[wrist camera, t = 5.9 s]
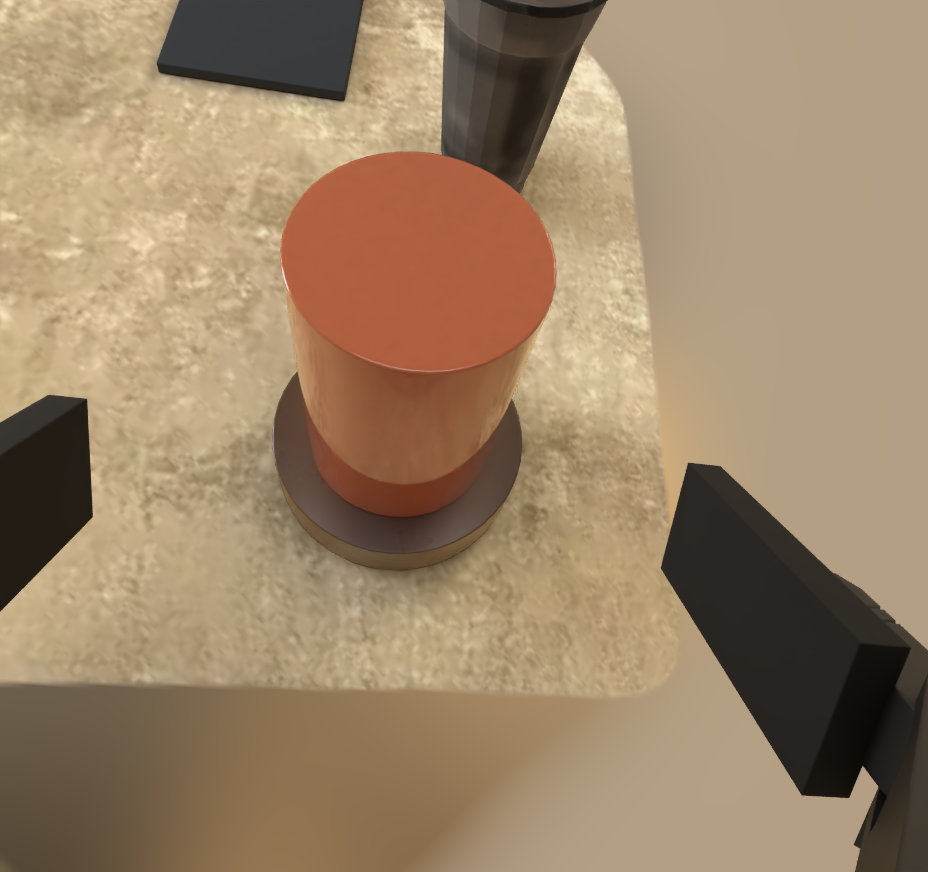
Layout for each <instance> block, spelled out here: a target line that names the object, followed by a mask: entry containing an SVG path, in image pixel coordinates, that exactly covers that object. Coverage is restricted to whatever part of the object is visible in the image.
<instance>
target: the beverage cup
mask: <svg viewBox="0 0 928 872" xmlns="http://www.w3.org/2000/svg"><path fill="white" fill-rule="evenodd" d="M606 1H607V0H444V4H445V23H444V61H443V98H442V135H441V151H442V155H443V156H448V157H452V158H455V159H459V160H462V161H465V162H468V163H470V164H472V165H475V166H477V167H480V168H482V169H484V170H486V171H487V172H489V173H491V174H493V175H495V176H496V177H498V178H499V179H501V180H502V181H504V182H505V183H507V184H508V185H509V186H511V187H512V188H513V189H514V190H515V191H517V192H518V193H519V194H520V192H521V190H522V189H523V186H524V182H525V180H526V179H527V176H528V174H529V173H530V171H531V169H532V168H533V165H534V163H535V160H536V158H537V156H538V153H539V151H540V148H541V146H542V143H543V141H544V138H545V136H546V133H547V131H548V129H549V126H550V124H551V121H552V119H553V116H554V114H555V111H556V109H557V106H558V104H559V102H560V99H561V97H562V94H563V92H564V89H565V87H566V84H567V82H568V79H569V77H570V75H571V72H572V70H573V67H574V65H575V62H576V60H577V57H578V55H579V52H580V50H581V48H582V45H583V43H584V41H585V39H586V38H587V36H588V34H589V33H590V31H591V30H592V28H593V26H594V24H595V22H596V20H597V19H598V17H599V14H600V13H601V11H602V9H603V7H604V5H605V4H606Z"/></svg>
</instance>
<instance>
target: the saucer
mask: <svg viewBox="0 0 928 872" xmlns="http://www.w3.org/2000/svg"><path fill="white" fill-rule="evenodd" d="M272 441H273V453H274V459H275V465H276V468H277V472H278V475H279V479H280V482H281V486H282V489H283V492H284V495H285V498H286V500H287V502H288V504H289V506H290V508H291V510H292V512H293V514H294V515H295V517H296V518H297V520H298V521H299V523H300V524H301V525H302V527H303V528H304V529H305V530H306V531H307V532H308V533H309V534H310V535H311V536H312V537H313V538H314V539H315V540H316V541H318V542H319V543H320V544H321V545H322V546H324V547H325V548H327V549H328V550H330V551H331V552H333V553H335V554H336V555H338V556H340V557H342V558H345V559H347V560H349V561H351V562H354V563H357V564H361V565H364V566H368V567H373V568H379V569H387V570H405V569H415V568H421V567H425V566H429V565H433V564H436V563H438V562H441V561H444V560H446V559H449V558H451V557H452V556H454V555H456V554H458V553H460V552H462V551H463V550H464V549H466V548H467V547H468V546H470V545H471V544H473V543H474V542H475V541H476V540H477V539H478V538H479V537H480V536H481V535H482V534H483V533H484V532H485V531H486V530H487V529H488V527H489V526H490V525H491V523H492V522H493V521H494V519H495V518H496V516H497V514H498V512H499V511H500V509H501V507H502V505H503V504H504V502H505V500H506V498H507V496H508V495H509V493H510V491H511V489H512V487H513V484H514V482H515V479H516V477H517V474H518V470H519V466H520V462H521V453H522V432H521V426H520V421H519V417H518V414H517V411H516V408H515V405H514V402H513V400H512V398H511V401H510V403H509V406H508V408H507V410H506V413H505V415H504V417H503V420H502V422H501V425H500V427H499V429H498V432H497V434H496V437H495V439H494V441H493V444H492V446H491V449H490V451H489V453H488V456H487V458H486V461H485V463H484V465H483V468H482V470H481V472H480V474H479V475H478V477H477V479H476V480H475V482H474V483H473V484H472V485H471V486H470V488H469V489H468V490H467V491H466V492H465V493H464V494H463V495H461V496H460V497H459V498H458V499H456V500H455V501H453V502H452V503H451V504H449V505H447V506H445V507H443V508H441V509H439V510H436V511H433V512H431V513H428V514H423V515H418V516H411V517H390V516H384V515H378V514H375V513H371V512H368V511H365V510H363V509H361V508H358V507H356V506H354V505H353V504H351V503H349V502H348V501H346V500H345V499H343V498H342V497H341V496H339V495H338V494H337V493H336V492H335V491H334V490H333V489H332V488H331V487H330V486H329V485H328V484H327V483H326V481H325V480H324V479H323V477H322V476H321V474H320V473H319V471H318V469H317V467H316V465H315V463H314V460H313V457H312V454H311V450H310V445H309V439H308V433H307V426H306V420H305V414H304V408H303V402H302V395H301V389H300V383H299V377H298V371H297V372H296V374H295V375H294V376H293V377H292V379H291V380H290V382H289V383H288V385H287V387H286V388H285V390H284V392H283V394H282V397H281V399H280V401H279V403H278V406H277V410H276V414H275V417H274V424H273V432H272Z"/></svg>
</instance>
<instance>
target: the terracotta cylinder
mask: <svg viewBox="0 0 928 872" xmlns="http://www.w3.org/2000/svg"><path fill="white" fill-rule="evenodd" d="M280 261H281V271H282V277H283V283H284V289H285V296H286V302H287V308H288V314H289V321H290V327H291V333H292V339H293V345H294V352H295V358H296V364H297V370H298V377H299V383H300V389H301V395H302V402H303V408H304V414H305V420H306V426H307V433H308V439H309V445H310V450H311V454H312V457H313V460H314V463H315V465H316V467H317V469H318V471H319V473H320V474H321V476H322V477H323V479H324V480H325V481H326V483H327V484H328V485H329V486H330V487H331V488H332V489H333V490H334V491H335V492H336V493H337V494H338V495H339V496H341V497H342V498H343V499H345V500H346V501H348V502H349V503H351V504H353V505H354V506H356V507H358V508H361V509H363V510H365V511H368V512H371V513H375V514H378V515H384V516H390V517H411V516H418V515H423V514H428V513H431V512H433V511H436V510H439V509H441V508H443V507H445V506H447V505H449V504H451V503H452V502H453V501H455V500H456V499H458V498H459V497H460V496H461V495H463V494H464V493H465V492H466V491H467V490H468V489H469V488H470V486H471V485H472V484H473V483H474V482H475V480H476V479H477V477H478V475H479V474H480V472H481V470H482V468H483V465H484V463H485V461H486V458H487V456H488V453H489V451H490V449H491V446H492V444H493V441H494V439H495V437H496V434H497V432H498V429H499V427H500V425H501V422H502V420H503V417H504V415H505V413H506V410H507V408H508V406H509V403H510V401H511V398H512V396H513V394H514V391H515V389H516V386H517V384H518V382H519V379H520V377H521V374H522V372H523V370H524V367H525V365H526V362H527V360H528V358H529V355H530V353H531V350H532V348H533V346H534V343H535V341H536V338H537V336H538V334H539V331H540V329H541V326H542V324H543V322H544V319H545V317H546V314H547V312H548V310H549V307H550V305H551V302H552V299H553V295H554V291H555V287H556V275H557V271H556V259H555V254H554V250H553V246H552V242H551V240H550V237H549V235H548V232H547V230H546V228H545V226H544V225H543V223H542V221H541V219H540V217H539V216H538V215H537V213H536V212H535V211H534V209H533V208H532V207H531V205H530V204H529V203H528V202H527V201H526V200H525V199H524V198H523V197H522V196H521V195H520V194H519V193H518V192H517V191H515V190H514V189H513V188H512V187H511V186H509V185H508V184H507V183H505V182H504V181H502V180H501V179H499V178H498V177H496V176H495V175H493V174H491V173H489V172H487V171H486V170H484V169H482V168H480V167H477V166H475V165H472V164H470V163H468V162H465V161H462V160H459V159H455V158H452V157H448V156H443V155H438V154H433V153H424V152H391V153H382V154H377V155H372V156H367V157H364V158H361V159H358V160H354V161H351V162H349V163H347V164H345V165H342V166H340V167H338V168H336V169H334V170H333V171H331V172H329V173H328V174H326V175H324V176H323V177H322V178H321V179H319V180H318V181H317V182H315V183H314V184H313V185H312V186H311V187H310V188H309V189H308V190H307V191H306V192H305V193H304V194H303V195H302V196H301V198H300V199H299V201H298V202H297V203H296V205H295V206H294V208H293V210H292V212H291V214H290V216H289V218H288V220H287V222H286V225H285V228H284V231H283V235H282V240H281V248H280Z"/></svg>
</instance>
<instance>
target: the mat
mask: <svg viewBox="0 0 928 872" xmlns="http://www.w3.org/2000/svg"><path fill="white" fill-rule="evenodd" d="M362 4H363V0H180V1H179V3H178V6H177V9H176V11H175V14H174V17H173V20H172V22H171V25H170V28H169V31H168V33H167V36H166V39H165V42H164V44H163V47H162V50H161V53H160V55H159V58H158V61H157V66H158V69H159V72H161V73H167V74H174V75H180V76H187V77H193V78H200V79H206V80H213V81H219V82H226V83H232V84H238V85H245V86H251V87H258V88H264V89H271V90H277V91H284V92H290V93H297V94H303V95H310V96H316V97H323V98H329V99H336V100H342V101H344V100H345V95H346V90H347V84H348V79H349V74H350V68H351V63H352V58H353V52H354V47H355V42H356V36H357V31H358V26H359V20H360V15H361V10H362Z"/></svg>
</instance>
